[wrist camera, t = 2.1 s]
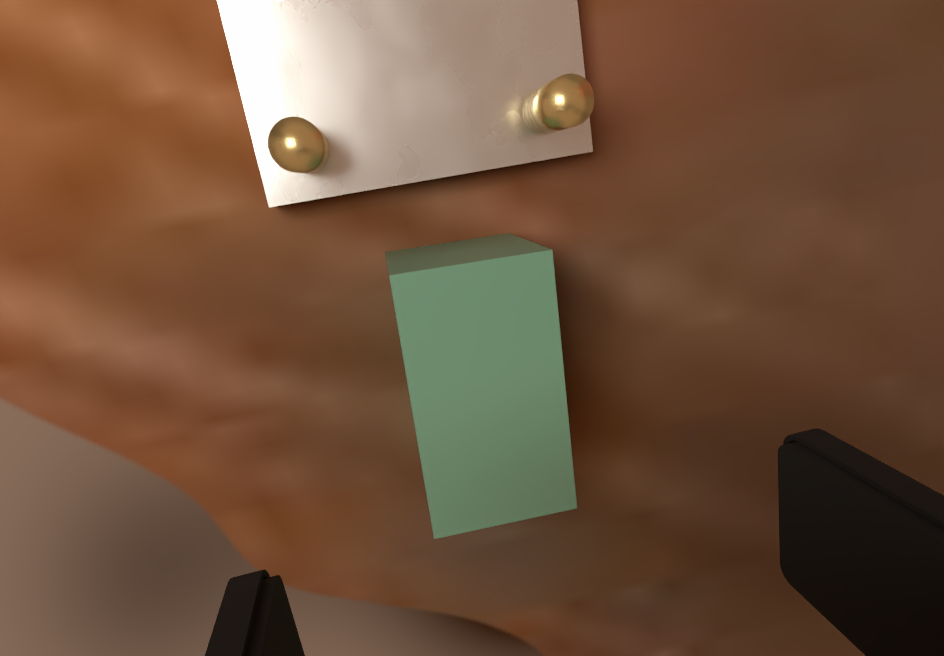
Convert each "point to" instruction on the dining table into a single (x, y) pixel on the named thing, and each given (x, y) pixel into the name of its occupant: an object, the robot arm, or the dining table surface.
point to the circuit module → (485, 380)
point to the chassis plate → (405, 89)
